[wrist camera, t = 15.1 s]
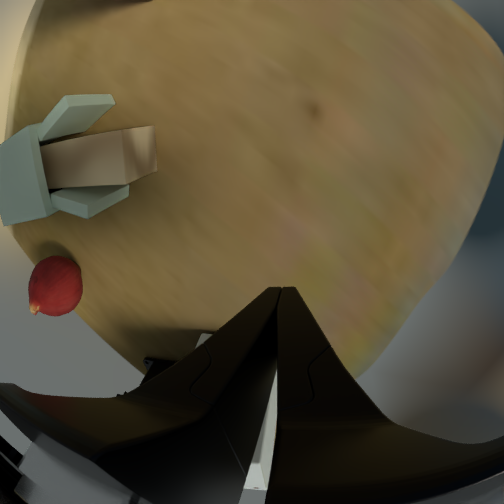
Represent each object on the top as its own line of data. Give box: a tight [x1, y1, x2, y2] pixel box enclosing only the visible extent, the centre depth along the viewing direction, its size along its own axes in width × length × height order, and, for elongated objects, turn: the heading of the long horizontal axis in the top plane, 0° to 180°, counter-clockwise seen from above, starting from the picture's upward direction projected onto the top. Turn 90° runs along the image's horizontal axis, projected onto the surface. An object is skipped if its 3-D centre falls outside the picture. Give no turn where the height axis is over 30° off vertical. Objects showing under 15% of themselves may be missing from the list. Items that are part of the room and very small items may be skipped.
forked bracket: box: [0, 94, 129, 226], centre depth 18 cm, size 9×12×6 cm
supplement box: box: [196, 333, 277, 490], centre depth 21 cm, size 7×7×13 cm
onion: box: [28, 256, 83, 316], centre depth 23 cm, size 6×6×8 cm
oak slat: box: [40, 126, 157, 189], centre depth 18 cm, size 4×12×4 cm, turn 90°
